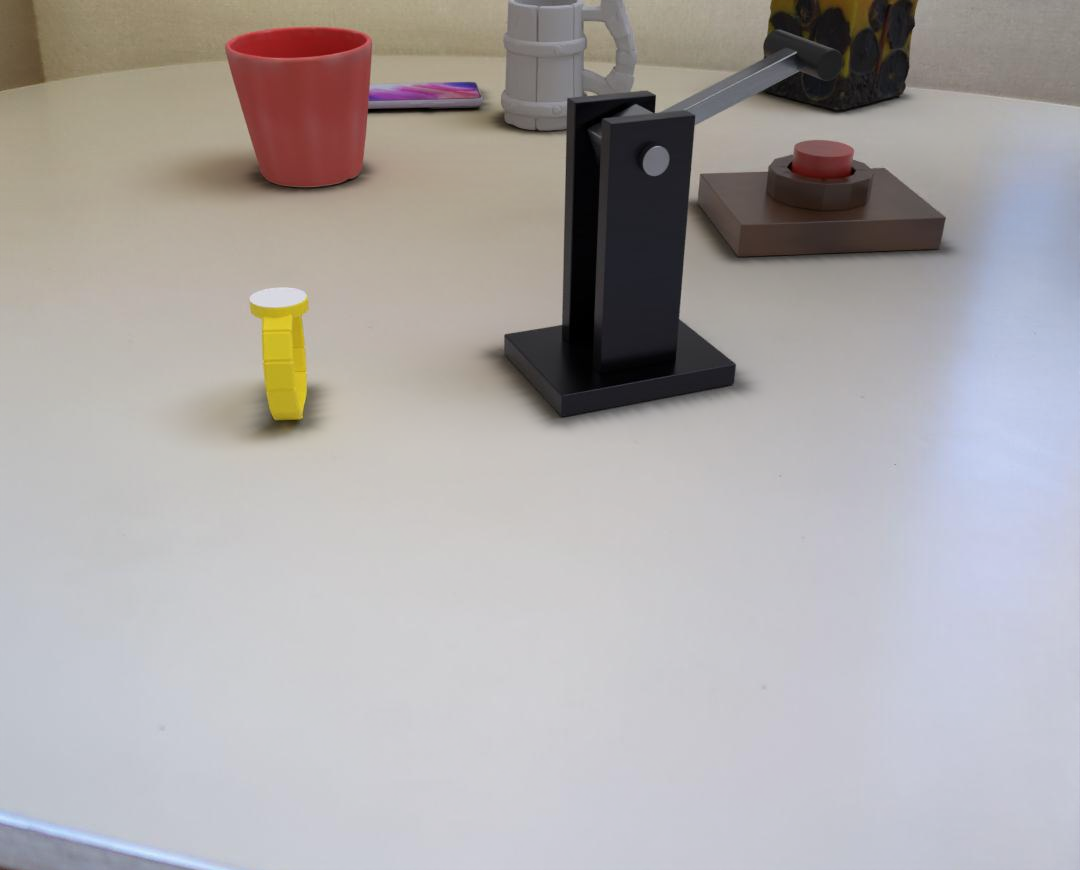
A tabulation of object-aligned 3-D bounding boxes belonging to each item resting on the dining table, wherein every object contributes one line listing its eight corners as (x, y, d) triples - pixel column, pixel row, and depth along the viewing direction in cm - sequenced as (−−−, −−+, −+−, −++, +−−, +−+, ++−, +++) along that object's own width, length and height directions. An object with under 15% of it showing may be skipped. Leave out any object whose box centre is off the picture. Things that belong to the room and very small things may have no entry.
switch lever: (790, 60, 62) (782, 15, 61) (846, 82, 59) (839, 34, 57) (588, 165, 61) (575, 121, 60) (632, 194, 57) (619, 148, 56)
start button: (838, 164, 85) (842, 139, 84) (858, 181, 81) (862, 155, 80) (783, 166, 84) (786, 140, 83) (801, 183, 81) (805, 157, 80)
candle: (823, 76, 122) (838, -33, 116) (907, 96, 115) (927, -18, 110) (756, 91, 116) (768, -22, 110) (840, 113, 110) (857, -6, 104)
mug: (508, 107, 110) (508, -37, 104) (637, 113, 109) (645, -32, 102) (493, 129, 104) (491, -23, 97) (629, 137, 103) (637, -17, 96)
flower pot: (214, 186, 90) (194, 49, 85) (282, 147, 99) (268, 20, 94) (343, 201, 88) (332, 61, 82) (401, 160, 96) (395, 30, 91)
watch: (315, 436, 59) (302, 322, 55) (257, 438, 58) (241, 323, 55) (322, 380, 64) (311, 273, 60) (269, 382, 63) (255, 274, 60)
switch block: (880, 196, 90) (889, 142, 88) (940, 249, 81) (952, 190, 79) (697, 203, 88) (701, 147, 86) (737, 257, 79) (743, 197, 77)
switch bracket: (664, 326, 70) (682, 78, 62) (734, 384, 64) (764, 117, 56) (503, 353, 67) (501, 95, 59) (561, 417, 61) (568, 138, 53)
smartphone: (317, 84, 113) (476, 81, 115) (318, 94, 113) (477, 90, 115) (315, 102, 107) (483, 98, 109) (316, 112, 107) (484, 108, 109)
